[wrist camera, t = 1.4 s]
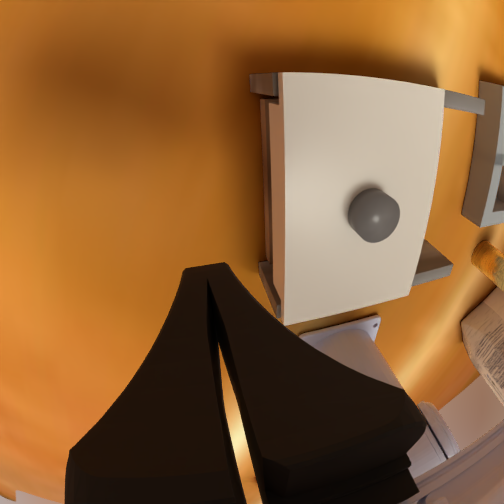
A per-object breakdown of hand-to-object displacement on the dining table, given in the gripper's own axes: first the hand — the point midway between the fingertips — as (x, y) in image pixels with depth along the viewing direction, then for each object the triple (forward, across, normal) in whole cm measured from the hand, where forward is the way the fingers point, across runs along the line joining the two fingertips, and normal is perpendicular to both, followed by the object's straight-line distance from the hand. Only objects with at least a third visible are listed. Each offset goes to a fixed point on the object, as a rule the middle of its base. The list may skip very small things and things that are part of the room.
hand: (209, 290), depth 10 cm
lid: (+6, -8, 0) cm, 10 cm away
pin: (+9, -28, +9) cm, 30 cm away
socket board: (+9, -26, -2) cm, 27 cm away
